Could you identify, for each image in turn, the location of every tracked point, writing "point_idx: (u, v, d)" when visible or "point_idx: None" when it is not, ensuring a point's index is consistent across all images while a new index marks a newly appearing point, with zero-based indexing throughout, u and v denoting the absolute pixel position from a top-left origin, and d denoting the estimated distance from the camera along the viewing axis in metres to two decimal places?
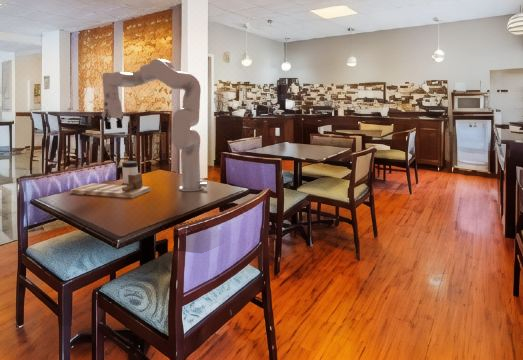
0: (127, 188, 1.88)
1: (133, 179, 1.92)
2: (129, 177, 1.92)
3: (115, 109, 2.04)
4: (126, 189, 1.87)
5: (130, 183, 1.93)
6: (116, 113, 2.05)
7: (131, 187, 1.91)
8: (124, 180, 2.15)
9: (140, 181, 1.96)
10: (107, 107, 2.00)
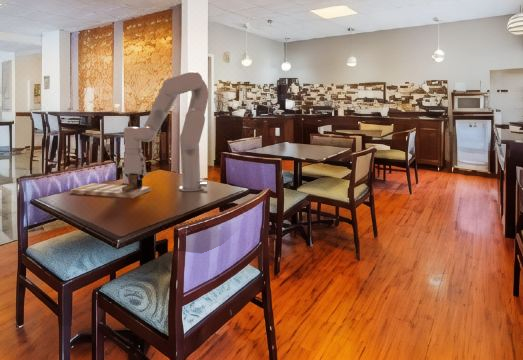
0: (127, 188, 1.88)
1: (133, 179, 1.92)
2: (129, 177, 1.92)
3: None
4: (126, 189, 1.87)
5: (130, 183, 1.93)
6: None
7: (131, 187, 1.91)
8: (124, 180, 2.15)
9: None
10: (143, 162, 1.93)
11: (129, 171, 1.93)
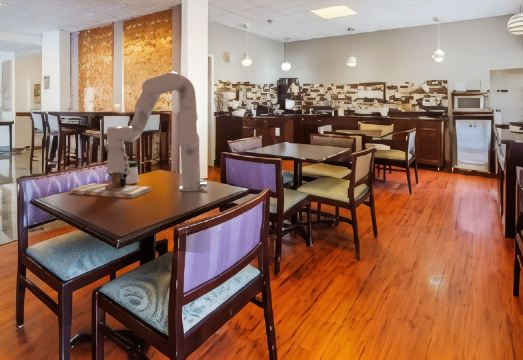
0: (110, 187, 1.90)
1: (116, 178, 1.94)
2: (112, 176, 1.95)
3: None
4: (109, 188, 1.89)
5: (113, 182, 1.95)
6: None
7: (114, 186, 1.93)
8: None
9: None
10: (126, 162, 1.95)
11: (112, 170, 1.95)
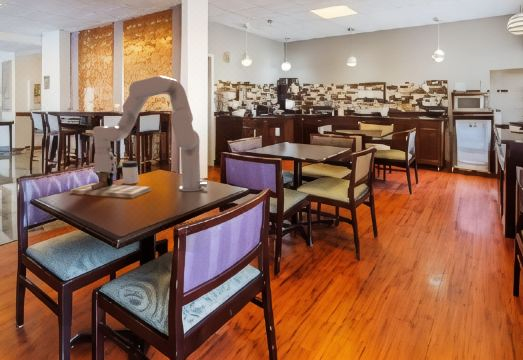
0: (96, 186, 1.92)
1: (103, 177, 1.97)
2: (99, 175, 1.97)
3: None
4: (95, 187, 1.92)
5: (100, 181, 1.98)
6: None
7: (101, 185, 1.96)
8: (124, 180, 2.15)
9: None
10: (113, 161, 1.97)
11: (99, 169, 1.97)
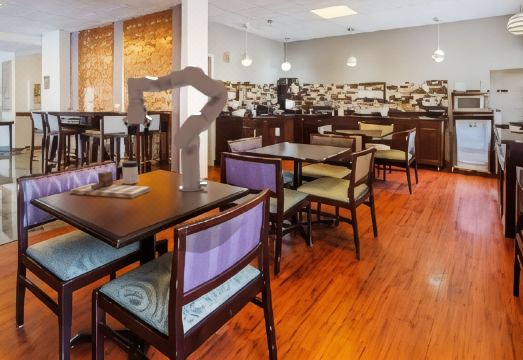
0: (96, 186, 1.92)
1: (103, 177, 1.97)
2: (99, 175, 1.97)
3: None
4: (95, 187, 1.92)
5: (100, 181, 1.98)
6: None
7: (101, 185, 1.96)
8: (124, 180, 2.15)
9: (110, 179, 2.01)
10: (146, 113, 1.98)
11: (132, 121, 1.98)
